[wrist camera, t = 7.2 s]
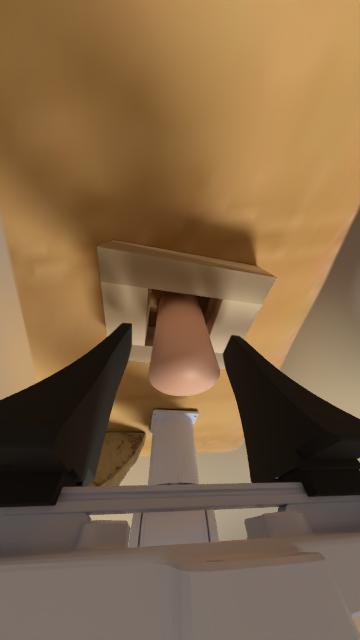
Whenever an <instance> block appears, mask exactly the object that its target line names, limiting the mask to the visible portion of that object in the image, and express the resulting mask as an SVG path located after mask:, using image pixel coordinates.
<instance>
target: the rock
mask: <svg viewBox="0 0 360 640" xmlns="http://www.w3.org/2000/svg"><path fill="white" fill-rule="evenodd" d="M145 438H146V437H145V433H134V432H107V433H105V437H104V441H103V445H102V450H101V454H100V458H99V463H98V467H97V471H96V476H95V479H94V481H93V482H92V483H91V484H90V485H89V486H119V484H120V483H121V481H122V480H123V479H124V477H125V476H126V474H127V472H128V471H129V469H130V468H131V467H132V466H133V465H134V464H135V462H136V461H137V459H138V456H139V454H140V452H141V449H142V447H143V445H144V441H145ZM89 486H88V487H89Z"/></svg>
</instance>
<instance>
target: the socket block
mask: <svg viewBox="0 0 360 640" xmlns="http://www.w3.org/2000/svg"><path fill="white" fill-rule="evenodd" d="M96 248H97V257H98V265H99V274H100V282H101V290H102V299H103V307H104V316H105V324H106V333H107V337H108V336H109V335H110V334H111V333H112V332H113V331H114V330H115V329H116V328H117V327H118V326H119V325H120V324H122V323H131V324H132V348H131V352H130V356H129V360H128V361H137V362H149V363H150V361H151V354H152V348H153V341H154V334H155V328H156V327H152V326H149V316H150V303H151V289H156V290H163V291H169V292H176V293H183V294H190V295H197V296H204V297H210V300H209V303H208V306H207V309H206V313H205V316H204V320H205V323H206V326H207V330H208V333H209V336H210V339H211V343H212V346H213V349H214V353H215V356H216V359H217V362H218V366H219V368H222V369H226V368H225V365H224V360H223V352H224V350H225V348H226V346H227V343H228V341H229V339H230V337H231V335H237V336H240V337H241V338H243V339H244V338H245V336H246V334H247V332H248V330H249V328H250V326H251V325H252V323H253V321H254V319H255V317H256V315H257V313H258V311H259V310H260V308H261V306H262V304H263V302H264V300H265V298H266V296H267V294H268V293H269V291H270V289H271V287H272V285H273V283H274V281H275V279H276V278H277V277H275V276H273V275H271V274H270V273H268V272H266V271H265V270H263V269H261V268H260V267H258V266H255V265H249V264H244V263H238V262H233V261H227V260H221V259H216V258H210V257H205V256H199V255H194V254H188V253H182V252H177V251H171V250H166V249H160V248H155V247H149V246H143V245H138V244H132V243H127V242H121V241H115V240H111V241H109V242H106V243H104V244H101V245H99V246H97V247H96Z"/></svg>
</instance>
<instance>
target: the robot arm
mask: <svg viewBox="0 0 360 640" xmlns="http://www.w3.org/2000/svg"><path fill="white" fill-rule="evenodd" d="M131 348H132V324H131V323H122V324H120V325H119V326H118V327H117V328H116V329H115V330H114V331H113V332H112V333H111V334H110V335H109V336H108V337H106V338H105V339H104V340H103V341H102V342H101V343H99V344H98V345H97V346H96V347H94V348H93V349H92V350H91V351H89V352H88V353H87V354H85V355H84V356H82V357H81V358H79V359H78V360H76V361H75V362H73V363H72V364H70V365H69V366H67V367H65V368H64V369H62V370H60V371H58V372H57V373H55V374H53V375H51V376H50V377H48V378H46V379H44V380H42V381H40V382H38V383H36V384H34V385H32V386H30V387H28V388H27V389H24V390H22V391H20V392H18V393H15V394H13V395H11V396H9V397H6V398H4V399H2V400H0V640H360V634H359V632H358V629H357V627H356V625H355V623H354V620H353V619H356V618H358V617H360V470H359V469H360V462H359V461H358V460H357V458H360V419H358V418H356V417H354V416H352V415H351V414H349V413H346V412H345V411H343V410H341V409H339V408H337V407H335V406H333V405H332V404H330V403H328V402H327V401H325V400H323V399H321V398H320V397H318V396H316V395H315V394H313V393H311V392H310V391H308V390H307V389H305V388H304V387H302V386H301V385H299V384H298V383H296V382H295V381H293V380H292V379H290V378H289V377H288V376H286V375H285V374H283V373H282V372H281V371H280V370H278V369H277V368H276V367H275V366H273V365H272V364H271V363H270V362H268V361H267V360H266V359H265V358H264V357H263V356H262V355H260V354H259V353H258V352H257V351H256V350H255V349H254V348H253V347H252V346H251V345H249V344H248V343H247V342H246V341H245V340H244V339H243V338H241V337H240V336H237V335H231V337H230V339H229V341H228V343H227V346H226V348H225V350H224V352H223V360H224V365H225V368H226V371H227V374H228V377H229V380H230V383H231V386H232V389H233V392H234V395H235V398H236V401H237V405H238V409H239V413H240V418H241V422H242V427H243V432H244V438H245V443H246V449H247V455H248V462H249V469H250V477H251V482H252V483H242V484H241V483H238V484H199V480H198V470H197V460H196V450H195V439H194V429H193V425H194V423H195V421H196V419H197V417H198V415H199V412H198V411H180V410H157V409H155V410H153V415H152V421H151V428H150V435H152V446H151V458H150V469H149V480H148V485H142V486H141V485H139V486H89V485H90V484H91V483H92V482H93V481H94V479H95V476H96V471H97V467H98V463H99V458H100V454H101V450H102V445H103V441H104V437H105V433H106V429H107V425H108V421H109V418H110V414H111V410H112V406H113V402H114V399H115V395H116V392H117V389H118V386H119V384H120V381H121V378H122V376H123V373H124V370H125V368H126V365H127V362H128V360H129V356H130V352H131ZM88 486H89V487H88ZM264 507H279V508H278V512H275V513H266V514H263V515H261V516H257V517H253V518H248V519H245V526H246V531H247V536H248V537H247V539H246V540H232V541H219V540H218V532H217V525H216V519H215V514H214V510H217V509H218V510H219V509H243V508H264ZM126 513H133V519H132V525H131V531H130V526H129V525H128V522H127V521H111V520H95V521H91V518H90V517H89V515H101V514H102V515H103V514H126ZM129 534H130V539H129ZM128 542H129V547H128Z"/></svg>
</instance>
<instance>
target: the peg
mask: <svg viewBox="0 0 360 640" xmlns="http://www.w3.org/2000/svg"><path fill="white" fill-rule="evenodd" d="M219 375H220V369H219V366H218V362H217V359H216V356H215V353H214V349H213V346H212V343H211V339H210V336H209V333H208V330H207V326H206V323H205V320H204V317H203V313H202V310H201V307H200V303H199V300H198V298H197V296H196V295H190V294H183V293H176V292H169V291H167V292H166V293H165V294H164V295H163V296H162V297H161V299H160V302H159V308H158V314H157V321H156V328H155V334H154V341H153V348H152V354H151V361H150V368H149V381H150V383H151V384H152V385H153V386H154V387H155V388H156V389H157V390H159V391H161V392H163V393H165V394H169V395H174V396H190V395H195V394H199V393H201V392H204V391H206V390H208V389H209V388H211V387H212V386H213V385H214V384H215V383H216V382H217V380H218V378H219Z"/></svg>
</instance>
